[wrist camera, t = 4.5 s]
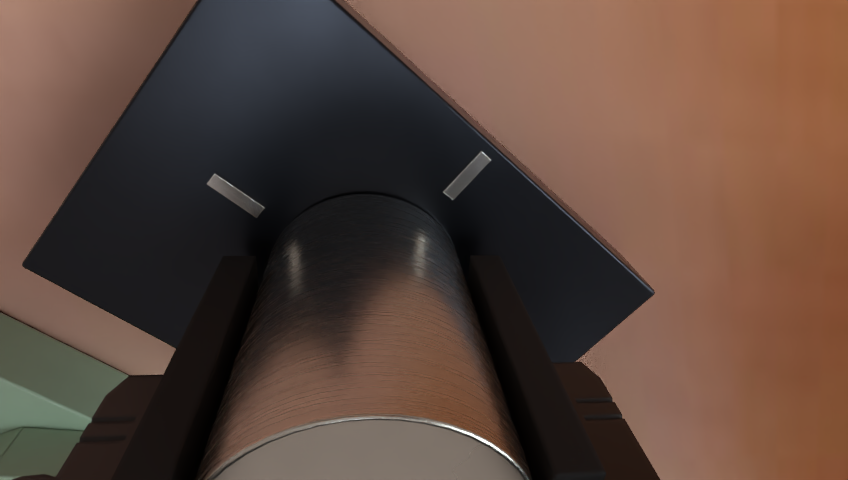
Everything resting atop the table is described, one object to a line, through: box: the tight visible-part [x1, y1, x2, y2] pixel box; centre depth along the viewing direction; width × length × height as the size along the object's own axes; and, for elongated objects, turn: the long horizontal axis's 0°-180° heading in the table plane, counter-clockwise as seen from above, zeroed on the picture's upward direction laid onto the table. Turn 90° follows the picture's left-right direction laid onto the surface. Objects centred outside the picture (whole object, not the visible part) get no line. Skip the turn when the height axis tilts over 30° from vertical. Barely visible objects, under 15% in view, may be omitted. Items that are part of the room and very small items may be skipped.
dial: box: [195, 194, 533, 480], centre depth 11 cm, size 5×5×8 cm
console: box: [22, 0, 655, 363], centre depth 15 cm, size 14×10×3 cm
